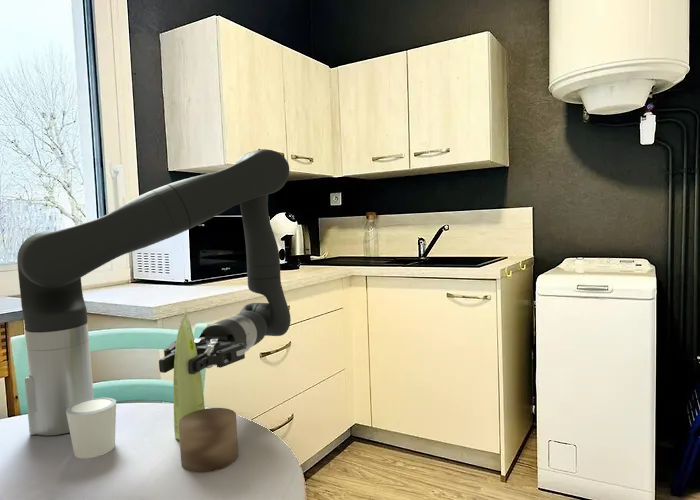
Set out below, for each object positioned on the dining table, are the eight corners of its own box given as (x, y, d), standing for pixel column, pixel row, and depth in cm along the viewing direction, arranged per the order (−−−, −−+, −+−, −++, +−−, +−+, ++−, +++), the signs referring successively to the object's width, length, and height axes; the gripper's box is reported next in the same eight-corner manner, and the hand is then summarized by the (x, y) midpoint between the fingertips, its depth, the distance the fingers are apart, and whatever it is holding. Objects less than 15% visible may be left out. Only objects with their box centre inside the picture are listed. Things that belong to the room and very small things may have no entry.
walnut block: (179, 477, 69) (176, 434, 68) (182, 450, 77) (180, 412, 76) (240, 467, 71) (237, 425, 71) (237, 442, 79) (234, 404, 78)
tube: (216, 433, 82) (208, 313, 81) (189, 445, 78) (181, 320, 76) (193, 425, 85) (185, 310, 84) (167, 437, 81) (158, 316, 80)
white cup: (99, 461, 74) (95, 415, 73) (58, 459, 75) (54, 413, 75) (129, 440, 81) (125, 397, 80) (91, 438, 82) (87, 395, 82)
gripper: (193, 318, 96) (133, 341, 80) (263, 319, 92) (216, 344, 76) (196, 357, 97) (137, 388, 80) (266, 360, 93) (219, 393, 77)
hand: (176, 367), depth 78 cm, fingers closed on tube, 4 cm apart
